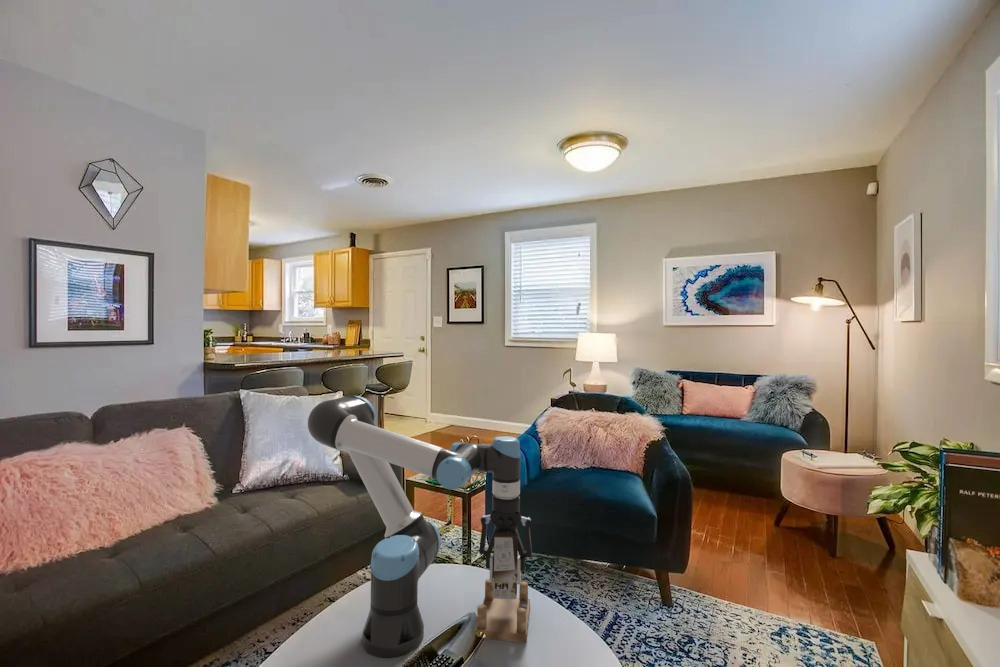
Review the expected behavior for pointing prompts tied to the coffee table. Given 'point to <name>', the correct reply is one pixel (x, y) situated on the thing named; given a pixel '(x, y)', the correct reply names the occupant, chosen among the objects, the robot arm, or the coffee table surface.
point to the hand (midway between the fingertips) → (505, 580)
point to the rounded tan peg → (523, 592)
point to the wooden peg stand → (502, 617)
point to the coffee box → (505, 565)
